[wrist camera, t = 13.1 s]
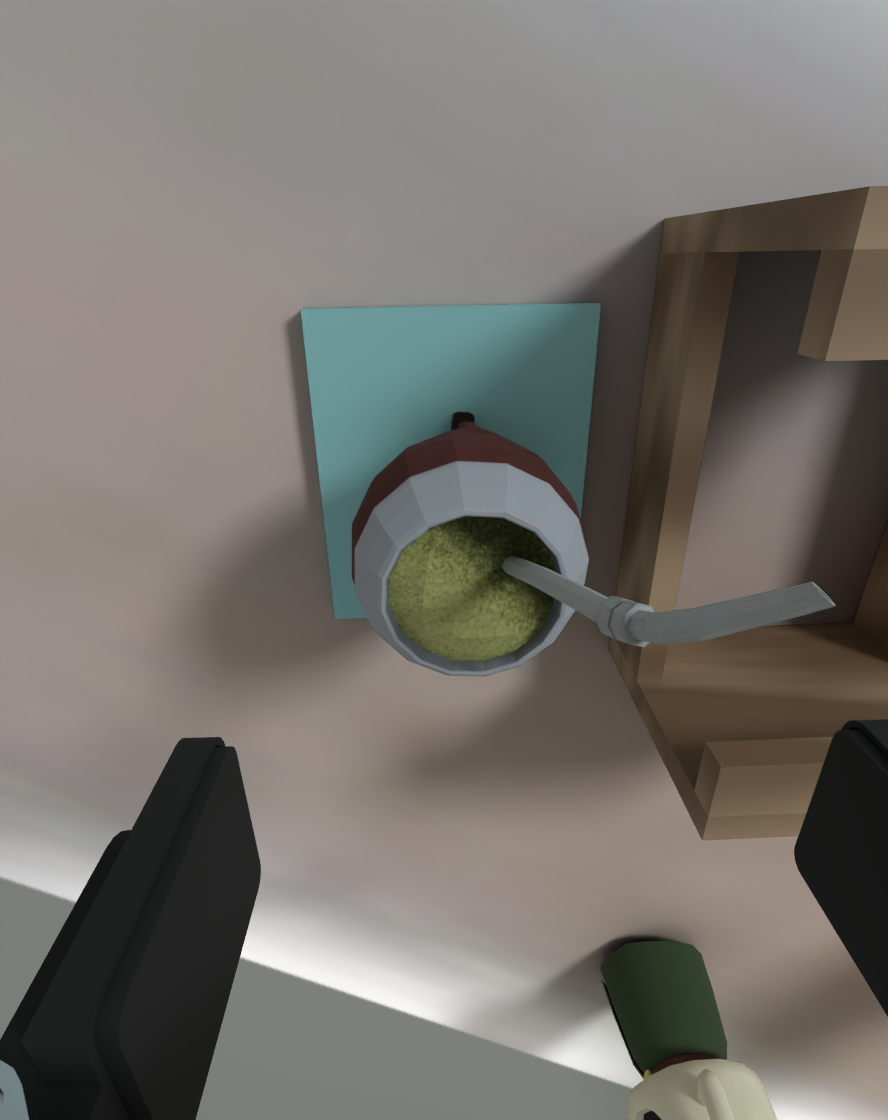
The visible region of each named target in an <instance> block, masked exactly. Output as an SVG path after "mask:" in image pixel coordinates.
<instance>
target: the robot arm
mask: <svg viewBox="0 0 888 1120" xmlns="http://www.w3.org/2000/svg"><path fill="white" fill-rule="evenodd" d="M794 855H795V861H796V864H797V867H798V870H799V872H800V873H801V875H802V877H803V878H804V880H805V882H806V883H807V885H808V887H809V888H810V890H811V892H812V893H813V895H814V896H815V898H816V900H817V901H818V903H819V905H820V906H821V908H822V910H823V911H824V913H825V915H826V916H827V918H828V919H829V921H830V923H831V924H832V926H833V928H834V929H835V931H836V933H837V934H838V936H839V937H840V939H841V941H842V942H843V944H844V946H845V947H846V949H847V951H848V952H849V954H850V955H851V957H852V959H853V960H854V962H855V964H856V965H857V967H858V969H859V970H860V972H861V973H862V975H863V977H864V978H865V980H866V982H867V983H868V985H869V987H870V988H871V990H872V992H873V993H874V995H875V996H876V998H877V1000H878V1001H879V1003H880V1005H881V1006H882V1008H883V1010H884V1011H885V1013H886V1014H887V1016H888V719H881V720H852V721H848V722H847V723H845V724H844V726H843V727H842V729H841V730H838V731H837V732H836V733H835V734H834V736H833V738H832V741H831V743H830V746H829V749H828V752H827V755H826V758H825V761H824V764H823V767H822V770H821V772H820V775H819V778H818V781H817V784H816V787H815V790H814V793H813V796H812V798H811V801H810V804H809V807H808V810H807V813H806V816H805V819H804V822H803V824H802V827H801V830H800V833H799V836H798V839H797V842H796V845H795V849H794ZM260 875H261V865H260V859H259V855H258V850H257V845H256V841H255V836H254V831H253V827H252V822H251V818H250V813H249V808H248V804H247V799H246V795H245V790H244V785H243V781H242V776H241V771H240V767H239V762H238V758H237V753H236V750H235V748H234V747H225V744H224V741H223V740H222V738H220V737H206V738H183V739H181V740H180V741H179V742H178V743H177V745H176V746H175V748H174V750H173V752H172V754H171V756H170V758H169V760H168V762H167V764H166V765H165V767H164V769H163V771H162V773H161V775H160V777H159V779H158V781H157V783H156V784H155V786H154V788H153V790H152V792H151V794H150V796H149V798H148V800H147V802H146V803H145V805H144V807H143V809H142V811H141V813H140V815H139V817H138V819H137V821H136V823H135V824H134V826H133V828H132V830H126V831H121V832H120V833H119V834H117V835H116V836H115V837H114V838H113V839H112V841H111V842H110V844H109V845H108V846H107V848H106V850H105V851H104V853H103V855H102V857H101V859H100V861H99V862H98V864H97V866H96V868H95V870H94V871H93V873H92V875H91V877H90V879H89V880H88V882H87V884H86V886H85V888H84V889H83V891H82V893H81V895H80V897H79V898H78V900H77V902H76V904H75V906H74V908H73V910H72V911H71V913H70V915H69V917H68V918H67V920H66V922H65V924H64V926H63V928H62V929H61V931H60V933H59V935H58V937H57V938H56V940H55V942H54V944H53V946H52V947H51V949H50V951H49V953H48V955H47V956H46V958H45V960H44V962H43V964H42V966H41V967H40V969H39V971H38V973H37V975H36V976H35V978H34V980H33V982H32V983H31V985H30V987H29V989H28V991H27V993H26V994H25V996H24V998H23V1000H22V1002H21V1004H20V1006H19V1007H18V1009H17V1011H16V1013H15V1014H14V1016H13V1018H12V1020H11V1021H10V1023H9V1025H8V1027H7V1029H6V1031H5V1032H4V1034H3V1036H2V1038H1V1040H0V1120H195V1119H196V1116H197V1112H198V1108H199V1105H200V1101H201V1097H202V1094H203V1090H204V1086H205V1083H206V1079H207V1075H208V1072H209V1068H210V1064H211V1060H212V1057H213V1053H214V1050H215V1046H216V1042H217V1039H218V1035H219V1032H220V1028H221V1024H222V1021H223V1017H224V1013H225V1010H226V1006H227V1002H228V999H229V995H230V991H231V988H232V984H233V980H234V977H235V973H236V969H237V966H238V962H239V958H240V955H241V951H242V947H243V944H244V940H245V936H246V933H247V929H248V925H249V922H250V918H251V914H252V911H253V907H254V903H255V900H256V896H257V892H258V888H259V884H260Z"/></svg>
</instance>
